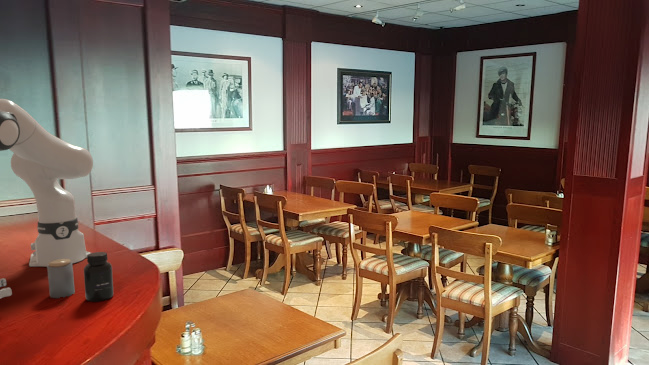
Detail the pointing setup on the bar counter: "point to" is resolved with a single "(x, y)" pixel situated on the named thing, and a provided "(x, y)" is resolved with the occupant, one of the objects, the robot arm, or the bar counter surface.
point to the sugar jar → (60, 278)
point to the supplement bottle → (98, 277)
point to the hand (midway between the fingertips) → (8, 286)
